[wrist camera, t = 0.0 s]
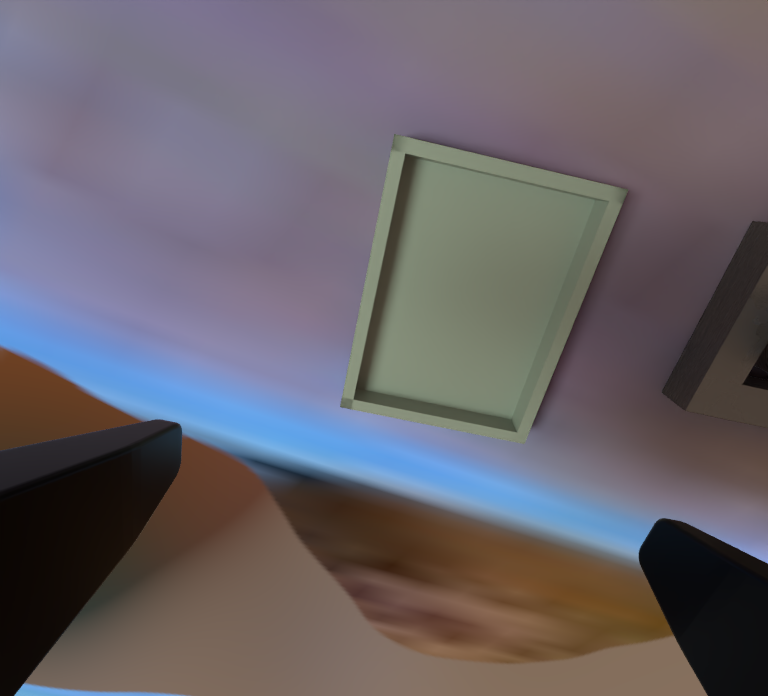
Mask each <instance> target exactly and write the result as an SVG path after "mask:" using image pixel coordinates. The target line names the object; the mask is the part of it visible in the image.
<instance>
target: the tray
mask: <svg viewBox="0 0 768 696" xmlns="http://www.w3.org/2000/svg"><path fill="white" fill-rule="evenodd" d="M627 192H628V190H627V189H623V188H619V187H615V186H611V185H606V184H602V183H598V182H594V181H589V180H585V179H581V178H577V177H573V176H568V175H564V174H560V173H556V172H552V171H547V170H543V169H539V168H535V167H530V166H526V165H522V164H518V163H514V162H509V161H505V160H501V159H497V158H493V157H488V156H484V155H480V154H476V153H471V152H467V151H463V150H459V149H455V148H450V147H446V146H442V145H438V144H434V143H429V142H425V141H421V140H417V139H413V138H408V137H404V136H400V135H396V134H394V139H393V144H392V149H391V154H390V159H389V164H388V169H387V174H386V179H385V184H384V189H383V194H382V199H381V204H380V209H379V214H378V219H377V224H376V229H375V235H374V240H373V245H372V250H371V255H370V260H369V265H368V270H367V275H366V280H365V285H364V290H363V295H362V300H361V305H360V310H359V315H358V320H357V325H356V330H355V335H354V340H353V345H352V350H351V355H350V360H349V365H348V370H347V375H346V380H345V385H344V390H343V395H342V400H341V406H340V407H342V408H347V409H352V410H357V411H362V412H367V413H372V414H377V415H382V416H387V417H392V418H397V419H402V420H407V421H412V422H417V423H422V424H427V425H432V426H437V427H442V428H447V429H452V430H457V431H462V432H467V433H472V434H477V435H482V436H487V437H492V438H497V439H502V440H507V441H512V442H517V443H522V444H524V443H525V441H526V439H527V436H528V434H529V431H530V429H531V426H532V424H533V421H534V419H535V417H536V414H537V412H538V409H539V407H540V404H541V402H542V399H543V397H544V395H545V392H546V390H547V387H548V385H549V382H550V380H551V377H552V375H553V373H554V370H555V368H556V365H557V363H558V360H559V358H560V355H561V353H562V351H563V348H564V346H565V343H566V341H567V338H568V336H569V333H570V331H571V329H572V326H573V324H574V321H575V319H576V316H577V314H578V311H579V309H580V307H581V304H582V302H583V299H584V297H585V294H586V292H587V289H588V287H589V285H590V282H591V280H592V277H593V275H594V272H595V270H596V267H597V265H598V263H599V260H600V258H601V255H602V253H603V250H604V248H605V245H606V243H607V241H608V238H609V236H610V233H611V231H612V228H613V226H614V224H615V221H616V219H617V216H618V214H619V211H620V209H621V206H622V204H623V202H624V199H625V197H626V194H627Z"/></svg>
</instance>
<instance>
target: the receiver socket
mask: <svg viewBox="0 0 768 696" xmlns="http://www.w3.org/2000/svg"><path fill="white" fill-rule="evenodd" d="M767 343H768V223H766V222H756V221H752V223H751V225H750V227H749V229H748V231H747V233H746V235H745V236H744V238H743V240H742V242H741V244H740V246H739V248H738V250H737V252H736V253H735V255H734V257H733V259H732V261H731V263H730V265H729V267H728V268H727V270H726V272H725V274H724V276H723V278H722V280H721V282H720V284H719V285H718V287H717V289H716V291H715V293H714V295H713V297H712V299H711V301H710V302H709V304H708V306H707V308H706V310H705V312H704V314H703V316H702V318H701V319H700V321H699V323H698V325H697V327H696V329H695V331H694V333H693V334H692V336H691V338H690V340H689V342H688V344H687V346H686V348H685V350H684V351H683V353H682V355H681V357H680V359H679V361H678V363H677V365H676V367H675V368H674V370H673V372H672V374H671V376H670V378H669V380H668V382H667V383H666V385H665V387H664V389H663V391H662V393H663V394H664V395H666V396H667V397H668V398H669V399H671V400H672V401H673V402H674V403H676V404H677V405H678V406H680V407H681V408H682V409H683V410H685V411H688V412H693V413H698V414H703V415H707V416H712V417H717V418H722V419H727V420H731V421H736V422H741V423H746V424H750V425H755V426H760V427H765V428H768V380H767V379H762V378H757V377H753V376H748V374H749V373H750V371H751V369H752V368H753V366H754V364H755V363H756V361H757V359H758V358H759V356H760V354H761V353H762V351H763V350H764V348H765V346H766V345H767Z"/></svg>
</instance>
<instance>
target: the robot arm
mask: <svg viewBox="0 0 768 696" xmlns="http://www.w3.org/2000/svg"><path fill="white" fill-rule="evenodd" d="M181 446H182V428H181V426H180V424H178V423H175V422H170V421H165V420H151V421H146V422H141V423H136V424H131V425H126V426H121V427H117V428H111V429H106V430H101V431H96V432H92V433H86V434H82V435H77V436H72V437H67V438H62V439H57V440H52V441H47V442H42V443H37V444H32V445H27V446H22V447H17V448H12V449H7V450H2V451H0V696H14V695H15V694H16V693H17V691H18V690H19V689H20V688H21V686H22V685H23V684H24V682H25V681H26V680H27V678H28V677H29V676H30V675H31V674H32V672H33V671H34V670H35V669H36V667H37V666H38V665H39V663H40V662H41V661H42V660H43V658H44V657H45V656H46V655H47V653H48V652H49V651H50V649H51V648H52V647H53V646H54V644H55V643H56V642H57V641H58V639H59V638H60V637H61V636H62V634H63V633H64V632H65V631H66V629H67V628H68V627H69V625H70V624H71V623H72V621H73V620H74V619H75V618H76V616H77V615H78V614H79V613H80V611H81V610H82V609H83V608H84V607H85V605H86V604H87V603H88V601H89V600H90V599H91V598H92V596H93V595H94V594H95V593H96V591H97V590H98V589H99V588H100V586H101V585H102V584H103V582H104V581H105V580H106V579H107V577H108V576H109V575H110V574H111V572H112V571H113V570H114V569H115V567H116V566H117V565H118V563H119V562H120V561H121V560H122V558H123V557H124V556H125V555H126V553H127V552H128V551H129V549H130V548H131V547H132V545H133V543H134V542H135V541H136V539H137V538H138V536H139V535H140V533H141V532H142V530H143V529H144V527H145V525H146V524H147V522H148V521H149V519H150V517H151V516H152V514H153V512H154V511H155V509H156V508H157V506H158V505H159V503H160V501H161V500H162V498H163V497H164V495H165V493H166V492H167V490H168V489H169V487H170V485H171V484H172V482H173V481H174V479H175V477H176V476H177V473H178V471H179V468H180V464H181ZM639 562H640V565H641V567H642V570H643V572H644V574H645V576H646V578H647V580H648V582H649V584H650V586H651V589H652V591H653V593H654V595H655V597H656V599H657V601H658V603H659V605H660V607H661V610H662V612H663V614H664V616H665V618H666V620H667V622H668V624H669V626H670V628H671V630H672V632H673V634H674V636H675V638H676V640H677V642H678V644H679V646H680V648H681V650H682V651H683V653H684V655H685V657H686V658H687V660H688V662H689V664H690V666H691V667H692V669H693V670H694V672H695V674H696V676H697V678H698V679H699V681H700V683H701V685H702V686H703V688H704V690H705V692H706V693H707V695H708V696H768V564H767V563H765V562H763V561H761V560H759V559H757V558H755V557H753V556H751V555H749V554H747V553H745V552H743V551H741V550H739V549H737V548H735V547H733V546H731V545H729V544H727V543H725V542H723V541H721V540H719V539H717V538H715V537H713V536H711V535H709V534H707V533H705V532H703V531H701V530H699V529H697V528H695V527H693V526H691V525H689V524H687V523H684V522H681V521H677V520H671V519H666V518H662V519H659V520H658V521H657V522H656V523H655V524H654V526H653V527H652V529H651V531H650V532H649V534H648V536H647V537H646V539H645V541H644V542H643V544H642V545H641V547H640V550H639Z"/></svg>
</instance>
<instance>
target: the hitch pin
mask: <svg viewBox="0 0 768 696" xmlns="http://www.w3.org/2000/svg"><path fill="white" fill-rule="evenodd" d="M754 366H755V367H757V368H759V369H761V370H763V371H765V372H767V373H768V343H767V345H766V346H765V348H764V350H763V351H762V353H761V354H760V356H759V358H758V359H757V361H756V363H755V364H754Z"/></svg>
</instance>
